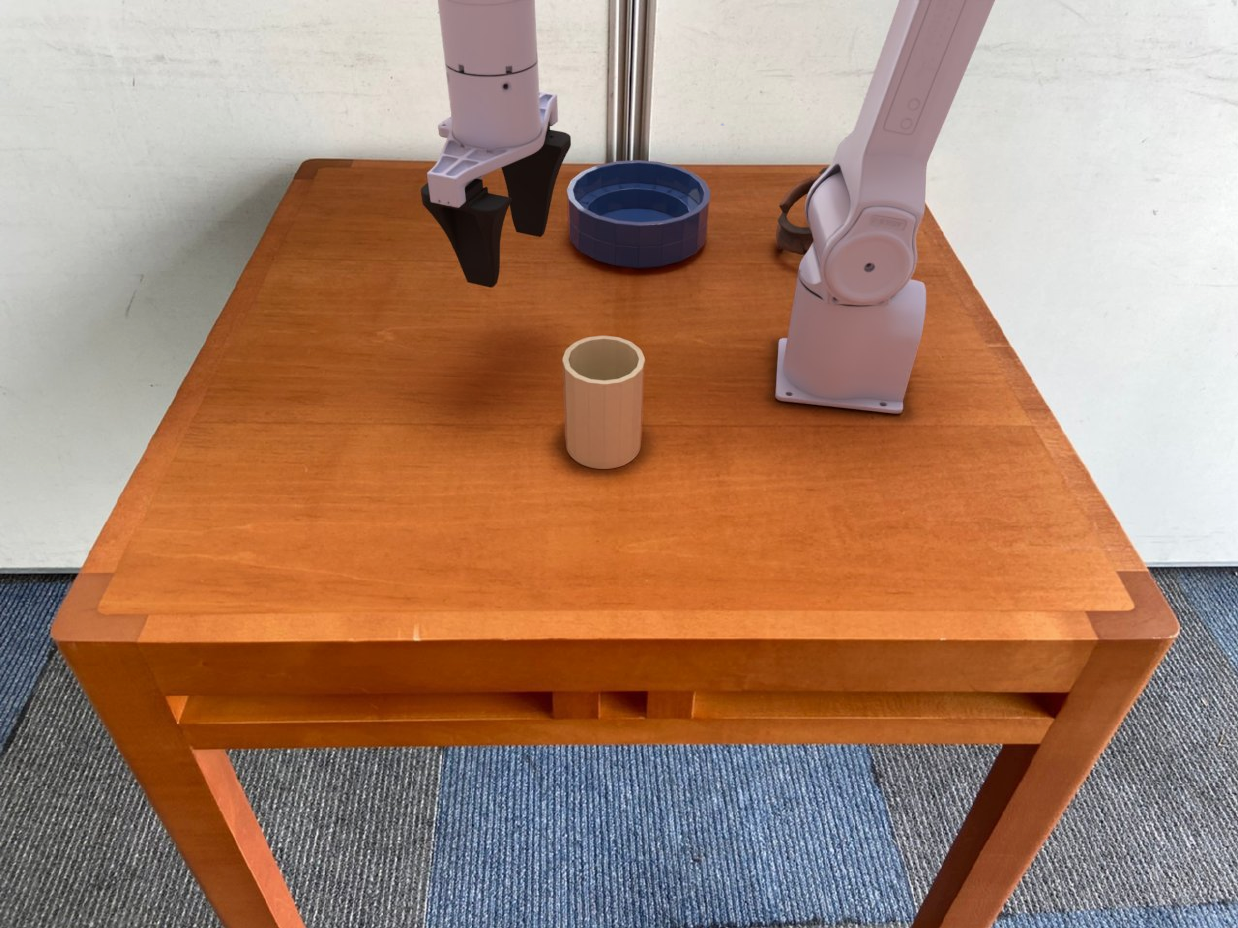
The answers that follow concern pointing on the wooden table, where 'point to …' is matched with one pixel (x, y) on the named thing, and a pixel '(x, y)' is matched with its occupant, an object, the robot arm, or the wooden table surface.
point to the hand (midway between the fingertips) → (507, 256)
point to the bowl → (638, 213)
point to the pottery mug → (788, 233)
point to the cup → (603, 401)
